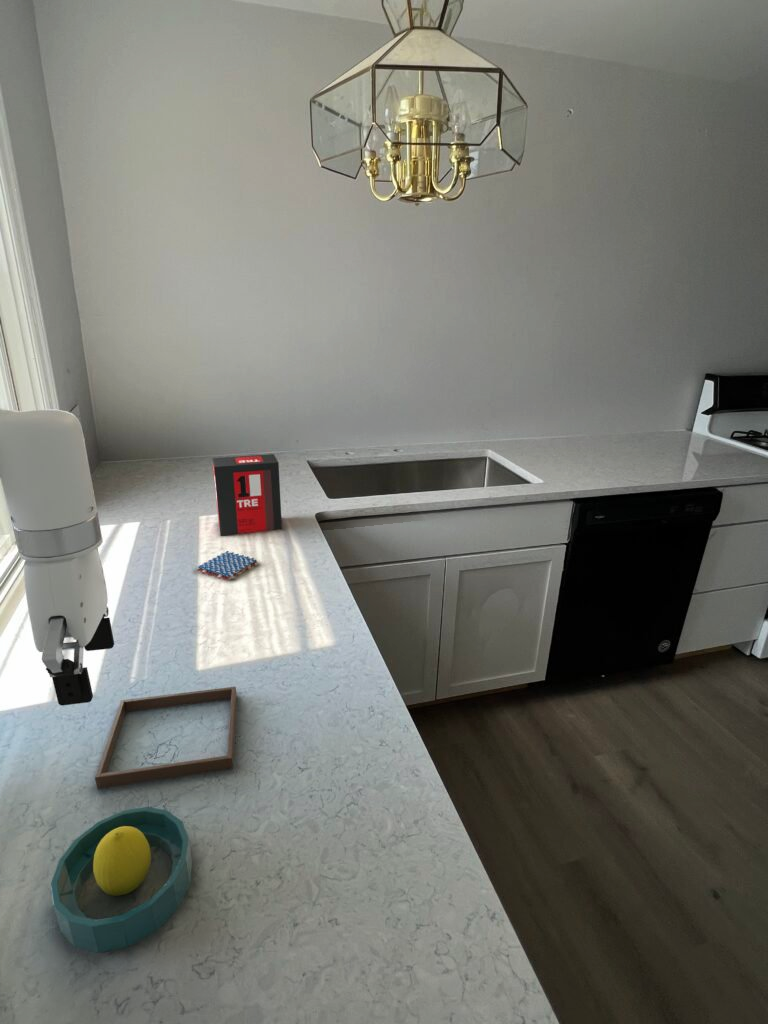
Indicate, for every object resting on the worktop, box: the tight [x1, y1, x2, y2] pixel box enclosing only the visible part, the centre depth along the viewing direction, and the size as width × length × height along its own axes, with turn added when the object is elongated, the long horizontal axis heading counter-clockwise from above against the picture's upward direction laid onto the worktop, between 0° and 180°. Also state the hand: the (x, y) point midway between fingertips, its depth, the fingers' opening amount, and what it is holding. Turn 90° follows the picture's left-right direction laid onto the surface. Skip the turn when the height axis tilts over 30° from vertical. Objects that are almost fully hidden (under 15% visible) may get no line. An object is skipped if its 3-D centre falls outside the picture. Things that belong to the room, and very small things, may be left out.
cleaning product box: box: [212, 453, 283, 537], centre depth 153 cm, size 16×9×20 cm, turn 108°
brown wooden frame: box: [94, 686, 238, 790], centre depth 81 cm, size 17×15×2 cm
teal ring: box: [50, 806, 193, 954], centre depth 60 cm, size 13×13×4 cm
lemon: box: [92, 826, 152, 896], centre depth 59 cm, size 6×6×8 cm
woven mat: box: [196, 550, 258, 581], centre depth 132 cm, size 10×11×2 cm
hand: (89, 673), depth 63 cm, fingers open, 9 cm apart
